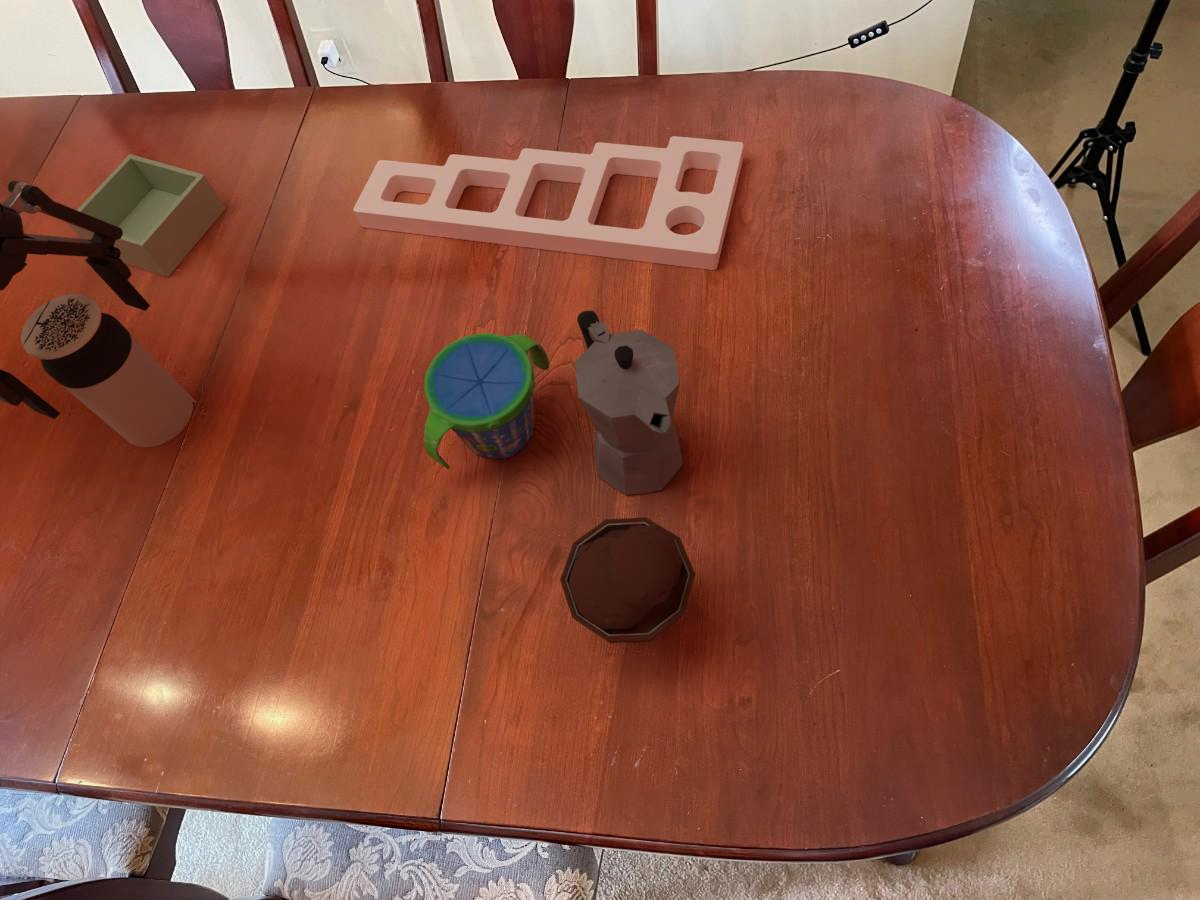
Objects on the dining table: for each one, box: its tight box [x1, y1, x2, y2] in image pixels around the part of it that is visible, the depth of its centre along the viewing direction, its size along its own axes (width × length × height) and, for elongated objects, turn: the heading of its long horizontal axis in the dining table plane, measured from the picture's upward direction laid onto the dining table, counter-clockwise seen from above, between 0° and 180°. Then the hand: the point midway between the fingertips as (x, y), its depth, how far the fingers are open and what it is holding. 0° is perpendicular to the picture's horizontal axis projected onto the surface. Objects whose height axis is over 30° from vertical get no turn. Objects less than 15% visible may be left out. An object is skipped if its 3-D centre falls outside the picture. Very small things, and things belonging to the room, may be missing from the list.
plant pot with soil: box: [559, 517, 696, 644], centre depth 71 cm, size 11×11×15 cm
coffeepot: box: [574, 310, 684, 496], centre depth 79 cm, size 15×9×18 cm, turn 28°
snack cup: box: [423, 332, 551, 470], centre depth 85 cm, size 16×10×10 cm
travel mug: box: [20, 293, 197, 448], centre depth 86 cm, size 8×8×18 cm
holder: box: [352, 135, 744, 271], centre depth 104 cm, size 45×18×3 cm, turn 76°
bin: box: [67, 153, 227, 278], centre depth 107 cm, size 12×12×6 cm
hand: (94, 356), depth 83 cm, fingers open, 13 cm apart
